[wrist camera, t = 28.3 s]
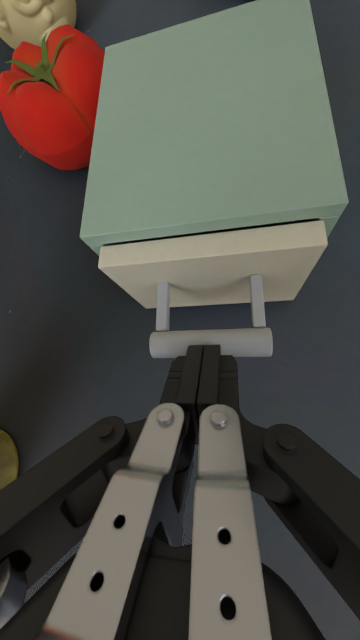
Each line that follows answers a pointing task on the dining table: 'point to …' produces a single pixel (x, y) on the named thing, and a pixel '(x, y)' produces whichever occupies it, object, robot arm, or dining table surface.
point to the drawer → (216, 279)
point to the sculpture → (33, 19)
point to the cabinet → (214, 129)
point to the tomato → (54, 97)
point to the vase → (8, 460)
